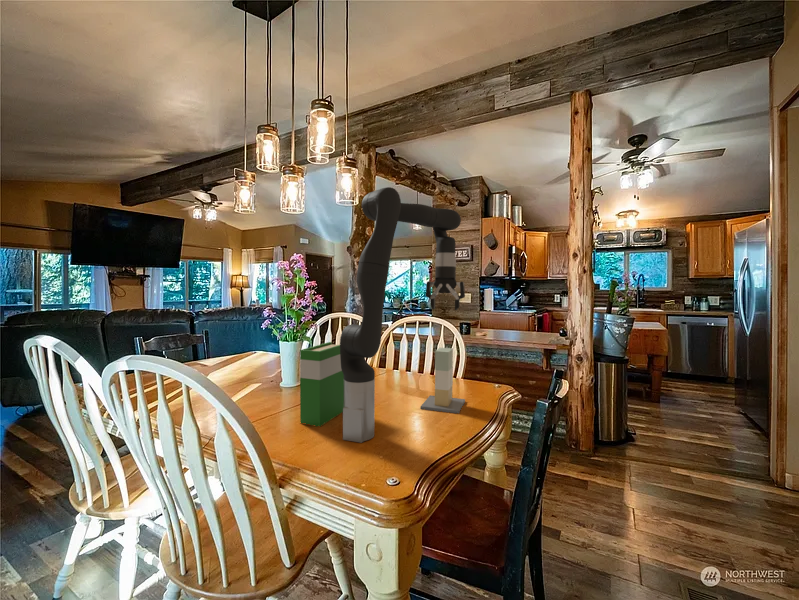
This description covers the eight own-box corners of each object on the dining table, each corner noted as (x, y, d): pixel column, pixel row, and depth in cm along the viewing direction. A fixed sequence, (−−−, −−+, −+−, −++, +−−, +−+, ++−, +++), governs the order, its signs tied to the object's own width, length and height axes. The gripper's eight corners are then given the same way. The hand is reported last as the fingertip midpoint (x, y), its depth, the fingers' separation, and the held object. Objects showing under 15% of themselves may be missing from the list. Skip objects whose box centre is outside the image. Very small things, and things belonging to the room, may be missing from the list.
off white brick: (448, 390, 134) (448, 371, 133) (435, 389, 135) (435, 370, 135) (452, 384, 141) (452, 366, 141) (439, 383, 143) (440, 365, 143)
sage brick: (448, 371, 134) (448, 352, 133) (434, 370, 135) (435, 351, 135) (452, 366, 141) (452, 348, 141) (439, 365, 143) (440, 347, 142)
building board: (458, 413, 130) (459, 394, 129) (420, 409, 134) (420, 390, 134) (465, 401, 143) (465, 383, 143) (430, 397, 148) (430, 380, 147)
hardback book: (329, 406, 136) (329, 342, 135) (347, 409, 134) (347, 343, 132) (300, 423, 120) (300, 350, 119) (319, 426, 117) (319, 351, 116)
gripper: (424, 265, 135) (423, 309, 136) (463, 265, 130) (462, 310, 131) (429, 266, 142) (428, 308, 143) (466, 266, 137) (465, 309, 138)
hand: (444, 309), depth 137 cm, fingers open, 8 cm apart
